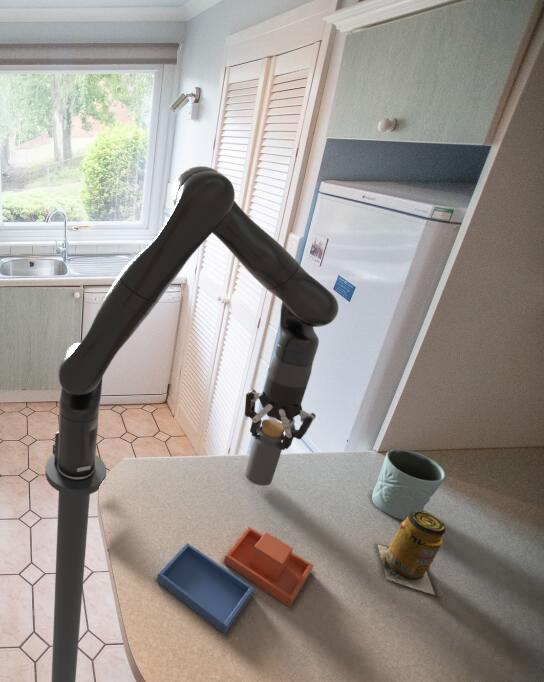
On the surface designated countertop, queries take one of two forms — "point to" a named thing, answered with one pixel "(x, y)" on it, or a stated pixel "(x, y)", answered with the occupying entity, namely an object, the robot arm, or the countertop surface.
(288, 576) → the terracotta tray
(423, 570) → the condiment
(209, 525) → the countertop surface
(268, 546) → the block
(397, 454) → the light teal planter pot
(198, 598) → the blue tray
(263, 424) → the bottle
